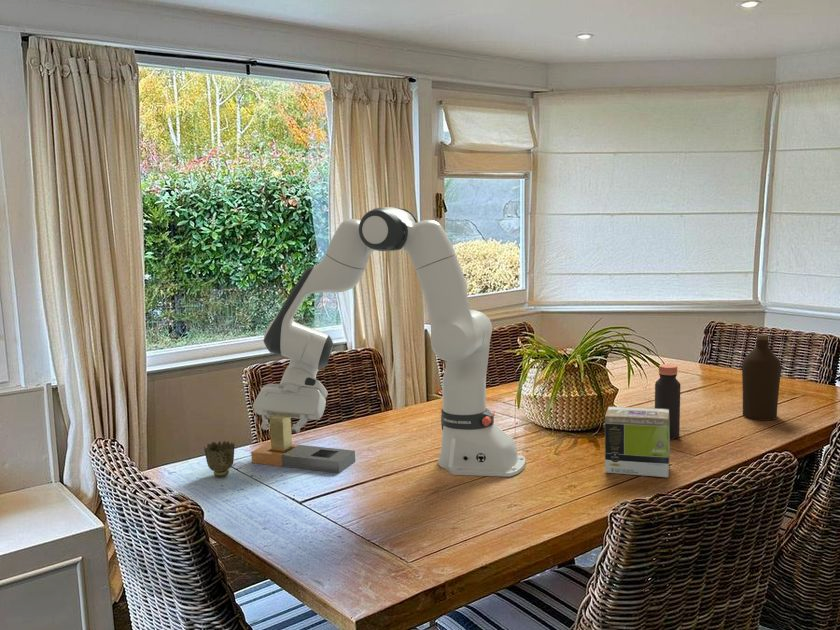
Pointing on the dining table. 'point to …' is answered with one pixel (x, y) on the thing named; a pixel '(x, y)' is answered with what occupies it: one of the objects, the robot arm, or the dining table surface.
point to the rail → (306, 458)
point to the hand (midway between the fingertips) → (279, 430)
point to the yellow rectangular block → (280, 433)
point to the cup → (220, 457)
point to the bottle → (669, 396)
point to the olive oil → (761, 381)
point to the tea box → (637, 441)
